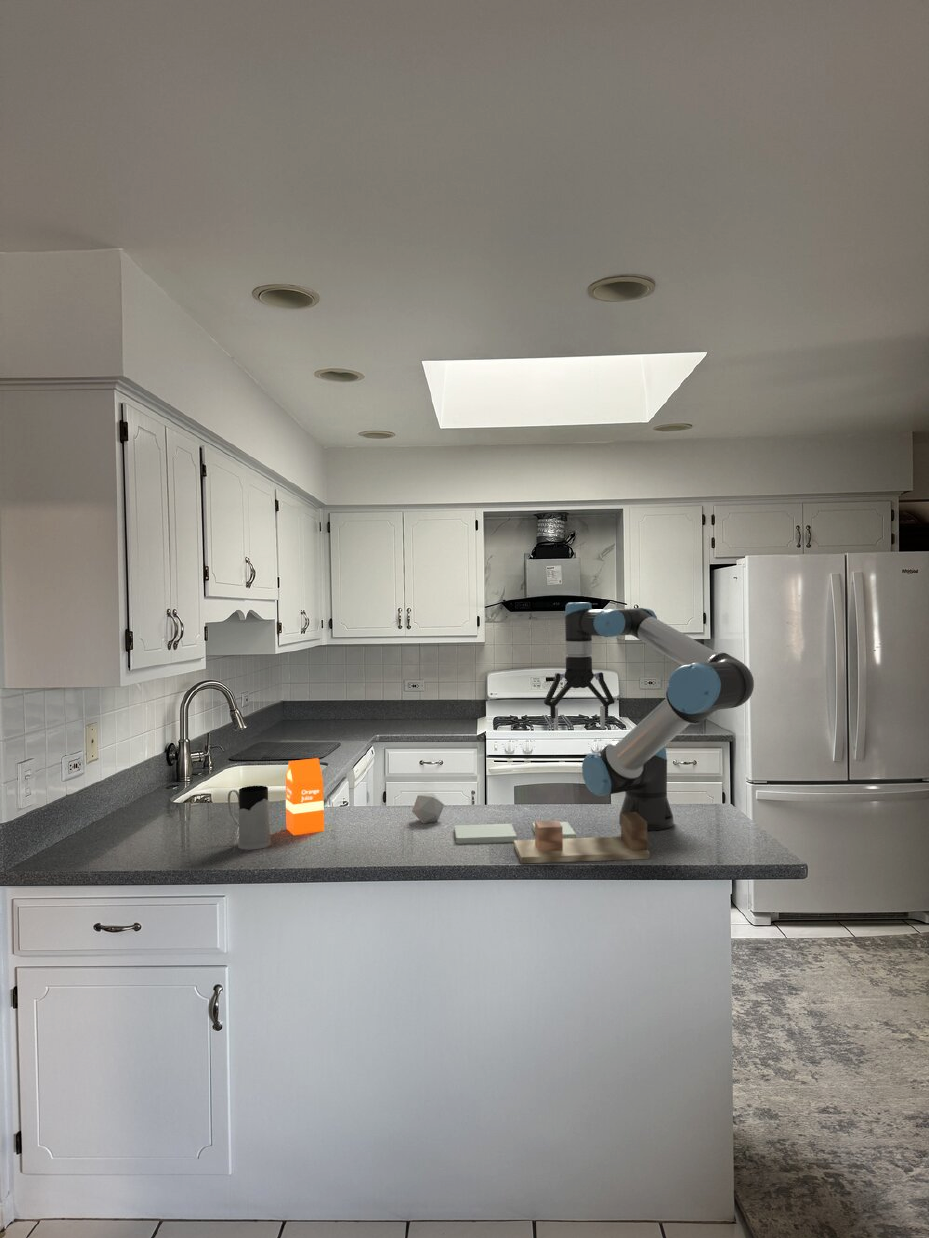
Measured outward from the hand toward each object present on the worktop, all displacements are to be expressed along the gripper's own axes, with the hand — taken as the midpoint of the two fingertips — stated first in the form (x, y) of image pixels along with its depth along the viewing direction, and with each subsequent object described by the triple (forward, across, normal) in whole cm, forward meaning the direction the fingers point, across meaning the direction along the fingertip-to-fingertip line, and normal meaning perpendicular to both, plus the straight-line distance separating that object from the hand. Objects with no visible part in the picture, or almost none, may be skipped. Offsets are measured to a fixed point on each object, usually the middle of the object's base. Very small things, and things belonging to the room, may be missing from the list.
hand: (579, 729), depth 236 cm
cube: (+25, +14, +29) cm, 41 cm away
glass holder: (+27, +93, +11) cm, 97 cm away
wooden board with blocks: (+27, +6, +29) cm, 40 cm away
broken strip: (+27, +21, +12) cm, 36 cm away
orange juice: (+27, +79, 0) cm, 83 cm away
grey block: (+27, +44, -5) cm, 52 cm away
